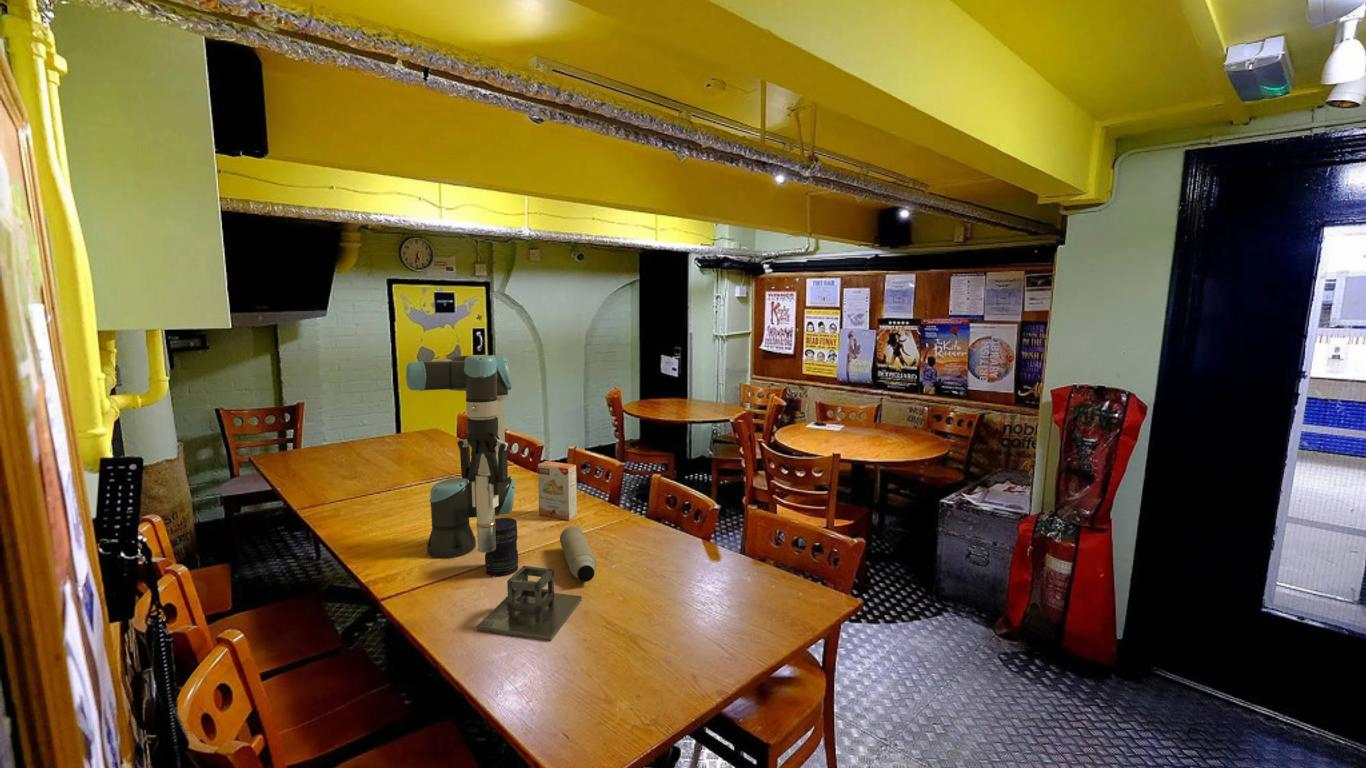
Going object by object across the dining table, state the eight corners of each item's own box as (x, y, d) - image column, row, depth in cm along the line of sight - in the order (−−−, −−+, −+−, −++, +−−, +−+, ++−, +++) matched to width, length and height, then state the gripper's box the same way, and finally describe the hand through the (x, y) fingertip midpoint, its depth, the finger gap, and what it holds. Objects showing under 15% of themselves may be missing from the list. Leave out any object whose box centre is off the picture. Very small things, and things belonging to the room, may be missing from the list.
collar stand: (477, 630, 144) (475, 588, 143) (515, 592, 164) (514, 555, 162) (550, 640, 140) (550, 598, 139) (581, 600, 160) (581, 562, 158)
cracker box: (538, 516, 223) (536, 463, 220) (547, 511, 228) (546, 460, 225) (568, 521, 217) (568, 468, 215) (577, 516, 223) (576, 464, 220)
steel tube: (474, 551, 148) (471, 476, 145) (484, 544, 152) (481, 471, 149) (490, 553, 147) (487, 477, 144) (499, 546, 151) (497, 472, 148)
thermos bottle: (587, 530, 194) (604, 566, 168) (576, 551, 194) (592, 590, 168) (566, 522, 192) (580, 557, 165) (555, 544, 191) (567, 582, 165)
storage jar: (500, 580, 171) (498, 532, 169) (478, 571, 176) (476, 525, 174) (525, 567, 179) (524, 521, 177) (503, 559, 185) (502, 515, 182)
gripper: (442, 417, 143) (446, 507, 146) (505, 421, 139) (508, 514, 142) (460, 412, 150) (464, 498, 153) (521, 416, 146) (523, 504, 149)
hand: (485, 505), depth 148 cm, fingers closed on steel tube, 4 cm apart
